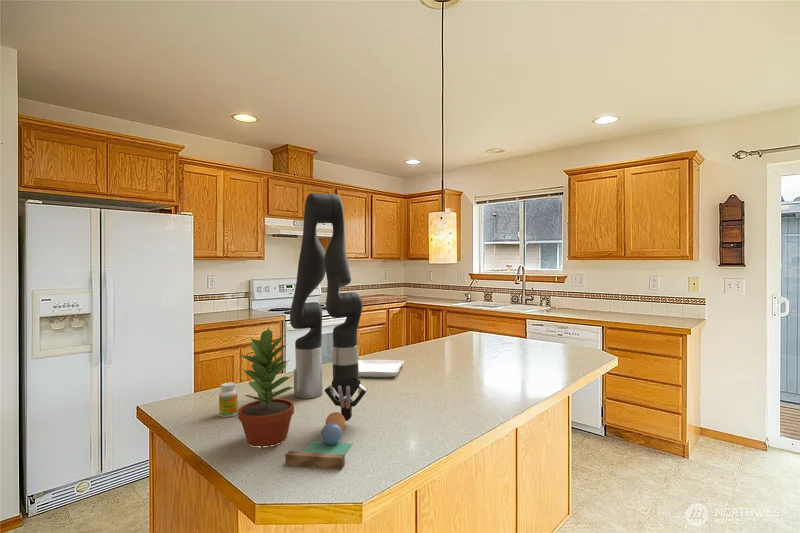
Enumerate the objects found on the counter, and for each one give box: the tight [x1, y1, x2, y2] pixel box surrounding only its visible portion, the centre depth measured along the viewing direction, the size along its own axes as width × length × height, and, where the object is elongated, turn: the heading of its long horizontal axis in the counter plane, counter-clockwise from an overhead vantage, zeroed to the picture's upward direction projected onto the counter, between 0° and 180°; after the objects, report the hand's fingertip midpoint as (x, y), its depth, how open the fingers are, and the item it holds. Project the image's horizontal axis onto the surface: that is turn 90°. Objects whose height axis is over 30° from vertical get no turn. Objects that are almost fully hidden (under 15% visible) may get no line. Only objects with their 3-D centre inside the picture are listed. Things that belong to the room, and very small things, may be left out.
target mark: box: [302, 440, 353, 456], centre depth 107 cm, size 11×11×1 cm
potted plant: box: [237, 326, 296, 447], centre depth 115 cm, size 15×15×30 cm
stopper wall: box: [284, 450, 346, 470], centre depth 101 cm, size 14×2×2 cm, turn 79°
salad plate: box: [358, 359, 405, 378], centre depth 183 cm, size 21×21×3 cm
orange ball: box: [325, 411, 346, 431], centre depth 119 cm, size 6×6×6 cm
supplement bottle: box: [218, 381, 239, 418], centre depth 135 cm, size 5×5×10 cm
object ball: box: [320, 423, 343, 445], centre depth 112 cm, size 6×6×6 cm
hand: (346, 419), depth 125 cm, fingers closed
